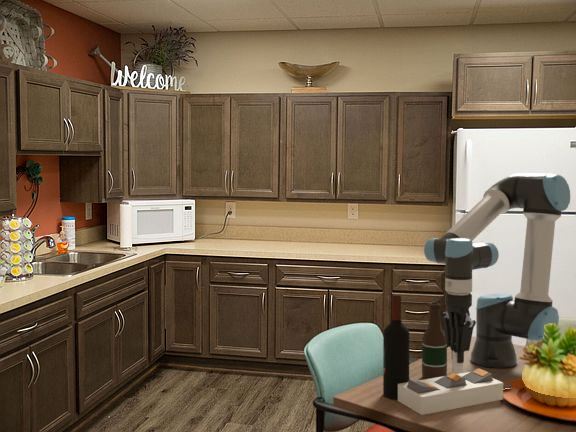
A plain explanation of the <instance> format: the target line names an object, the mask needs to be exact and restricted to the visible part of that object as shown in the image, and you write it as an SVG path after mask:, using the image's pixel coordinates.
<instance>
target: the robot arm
mask: <svg viewBox="0 0 576 432" xmlns="http://www.w3.org/2000/svg"><path fill="white" fill-rule="evenodd" d="M567 181H568V180H566V179H565V177H564V176H562V175H560V174H555V173H548V172H547V173H515V174H511V175H508V176H506V177H504V178H502V179H501V180H499V181H497V182H496V183H494V184H492V185H491V186H490V187H489V188H488V189H487V190H485V191H484V193H483V195H482V199H480V201H478V202H477V203H476V204H475V205H474V206H473V207H472V208H471V209H470V210H469V211H468V212H466V213H465V215H463V216H462V217H461V218H460V219H459V220H458V221H457V222H456V223H455V224H454V225H452V227H451V228H450V229H448V230H447V231H446V232H445V233H444V234H443V235H442V236H441V237H439V238H438V237H435V238H429V239H427V241H425V245H424V246H423V252H424V253H423V254H424V256H425V258H426V260H427V261H429V262H433V263H437V264H444V265H445V274H444V276H445V284H444V287H445V288H444V289H445V292H446V293H445V294H444V305H445V307H447V308H446V311H445V312H441V313H440V316H441V319H442V321H443V328H444V333H445V337H446V344H447V347H449V349H450V350H451V367H452V368H451V372H452V373H454V374H460V373H464V362H465V358H464V357H465V352H469V351H470V348H471V342H472V338H473V337H472V336H473V333H474V328H475V326H476V328H475V329H476V330H475V331H476V332H475V335H476V337H475V341H474V344H473V347H472V351H471V352H470V362H472V363H473V364H475V365H478V366H481V367H486V368H495V369H498V368H499V369H503V368H504V369H505V368H510V367H514V366H516V365H517V363H518V356H517V354H516V350H515V346H514V344H513V339H512V338H513V337H514V338H515V337H516V338H521V339H525V340H529V341H531V342H533V341H534V342H540V340H543V334H544V325H545V324H548V323H555V324H556V325H558V324H559V319H560V315H559V312H558V311H559V310H558V309H557V308H556V307H554V306H553V300H554V299H552V298H551V297H550V296H549V289H550V280H551V271H552V269H551V268H552V259H553V258H552V257H553V251H554V239H555V230H556V227H555V226H556V222H557V220H559V218H561V216H562V212H564V211H566V210H567V209H568V208H569V205H570V203H571V190H570V186H569V184H568V182H567ZM512 209H523V211H522V215H524V217H525V218H526V229H525V240H524V249H523V258H522V259H523V260H522V271H521V282H520V291H519V292H518V293H517V294H515V295H514V297H513V295H512V294H509V293H493V294H484V295H481V296H479V297H478V298H477V299H476V307H475V310H476V314H475V315H476V317H475V318H476V319H472V318H471V317H470V316H471V313H470V308H471V307H472V306H473V294H472V292H473V270H478V269H487V268H490V267H493V266H494V265H496V264H497V262H498V260H499V256H500V254H499V250H498V247H497V246H496V245H495V244H494V243H493V242H490V241H480V242H474V241H475V239H476V238H477V237H478V236H479V235H480V234H481V233H482V232H483V231H484V230H485V229H486V228H487V227H488V226H489V225H490V224H491V223H492V222H493V221H495V220H496V218H498V217H499V216H500V215H503V214H505V213H507V212H509V210H512ZM558 326H559V325H558Z"/></svg>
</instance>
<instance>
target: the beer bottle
mask: <svg viewBox="0 0 576 432" xmlns="http://www.w3.org/2000/svg"><path fill="white" fill-rule="evenodd" d="M428 307H429V313H428V325H427V328H426V329H425V331H424V333H423V335H422V340H421V376H422V377H423V378H424V379H430V378H436V377H442V376H446V375H448V373H447V370H448V362H447V361H448V346H447V344H446V337H445V330H443V327H442V324H441V323H442V322H441V319H442V317H441V307H442V306H441V303H439V302H435V301H434V302H430V303H429V304H428Z"/></svg>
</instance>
